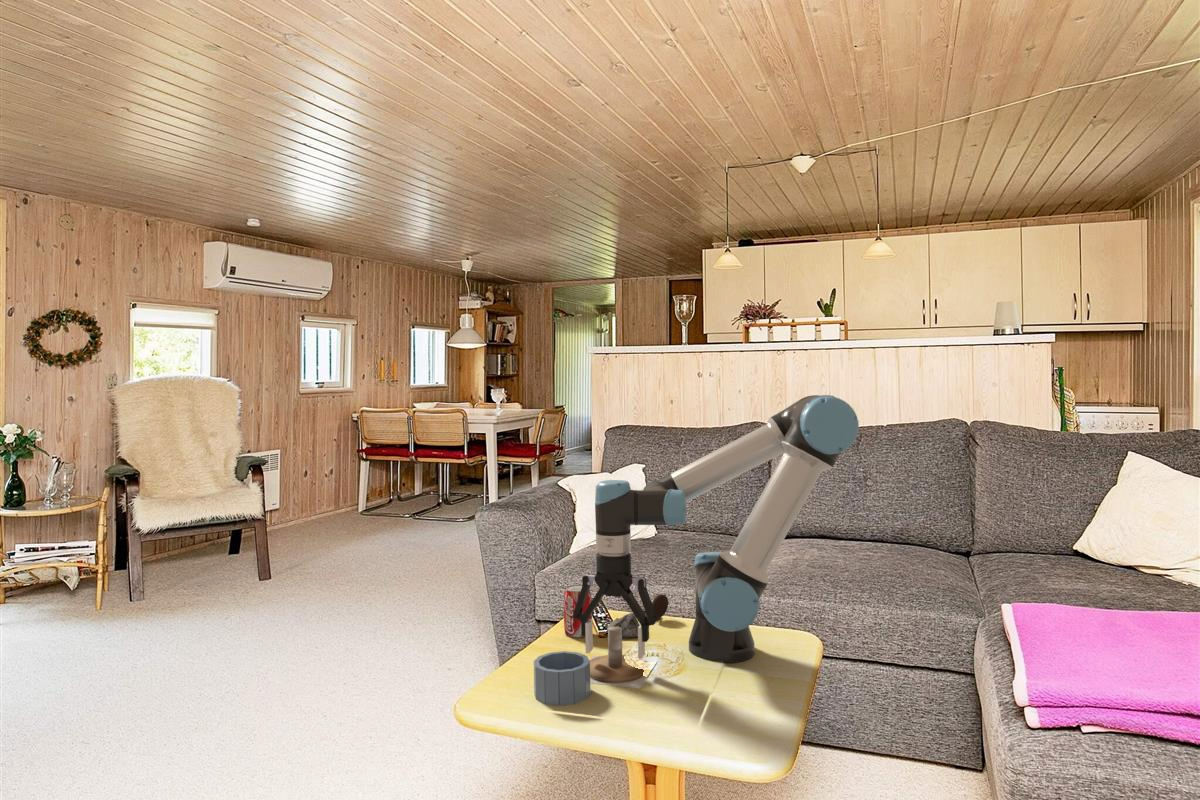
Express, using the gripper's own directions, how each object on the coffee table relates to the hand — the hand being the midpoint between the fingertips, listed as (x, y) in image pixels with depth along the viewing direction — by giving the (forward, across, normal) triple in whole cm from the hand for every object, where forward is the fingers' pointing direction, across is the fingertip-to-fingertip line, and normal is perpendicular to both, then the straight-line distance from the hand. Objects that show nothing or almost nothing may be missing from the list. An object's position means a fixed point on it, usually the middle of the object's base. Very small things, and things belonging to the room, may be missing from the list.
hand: (615, 653), depth 159 cm
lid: (+4, 0, 0) cm, 4 cm away
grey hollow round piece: (+4, -7, -14) cm, 16 cm away
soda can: (+5, -16, +21) cm, 27 cm away
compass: (+5, -2, +38) cm, 38 cm away
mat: (+4, 0, 0) cm, 4 cm away
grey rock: (+5, -5, +25) cm, 26 cm away
